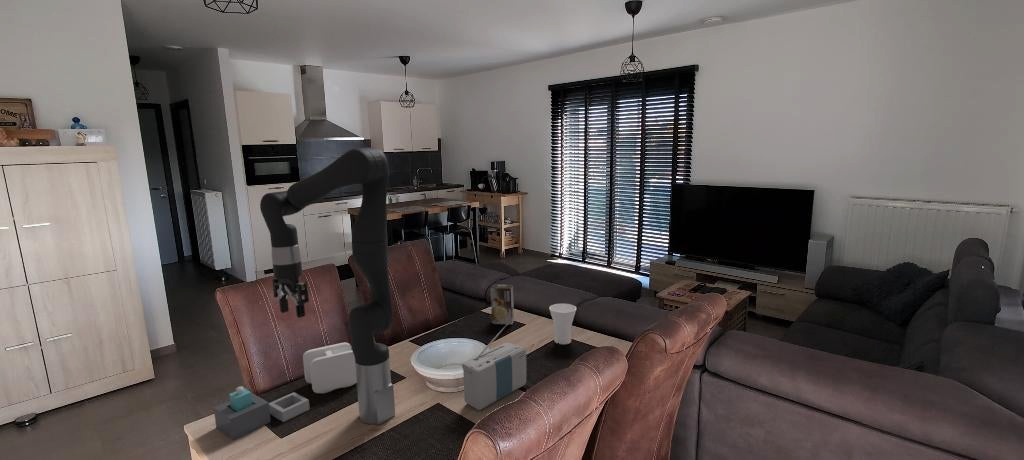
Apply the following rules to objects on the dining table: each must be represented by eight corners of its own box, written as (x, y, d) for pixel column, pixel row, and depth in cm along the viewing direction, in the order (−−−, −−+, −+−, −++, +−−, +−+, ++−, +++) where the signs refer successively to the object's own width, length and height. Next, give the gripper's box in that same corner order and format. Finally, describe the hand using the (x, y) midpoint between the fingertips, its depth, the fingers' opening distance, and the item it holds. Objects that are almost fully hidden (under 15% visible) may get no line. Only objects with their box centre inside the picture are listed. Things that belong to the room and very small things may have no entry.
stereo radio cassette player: (480, 414, 136) (478, 348, 133) (460, 404, 142) (458, 340, 139) (527, 387, 152) (527, 326, 148) (508, 378, 157) (507, 320, 154)
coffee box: (514, 319, 210) (514, 284, 208) (512, 325, 204) (511, 288, 201) (494, 318, 212) (493, 283, 209) (491, 324, 206) (490, 287, 203)
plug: (254, 418, 134) (250, 387, 132) (239, 425, 130) (235, 393, 129) (247, 414, 136) (243, 383, 134) (232, 420, 133) (228, 388, 131)
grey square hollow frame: (309, 409, 141) (308, 399, 140) (283, 422, 134) (282, 412, 134) (294, 401, 145) (293, 392, 145) (268, 413, 139) (267, 403, 138)
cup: (580, 339, 188) (581, 306, 185) (569, 348, 179) (569, 314, 177) (556, 334, 193) (556, 301, 191) (544, 343, 185) (544, 309, 182)
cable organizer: (310, 397, 147) (307, 362, 145) (305, 383, 156) (301, 350, 154) (360, 384, 155) (357, 350, 153) (352, 371, 164) (349, 339, 162)
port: (270, 422, 134) (268, 401, 133) (233, 439, 126) (230, 418, 125) (253, 411, 140) (250, 391, 139) (216, 427, 132) (213, 406, 131)
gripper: (313, 260, 138) (318, 314, 140) (285, 255, 146) (291, 306, 148) (288, 266, 131) (294, 322, 134) (260, 260, 140) (267, 314, 142)
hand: (292, 314), depth 141 cm, fingers open, 8 cm apart
